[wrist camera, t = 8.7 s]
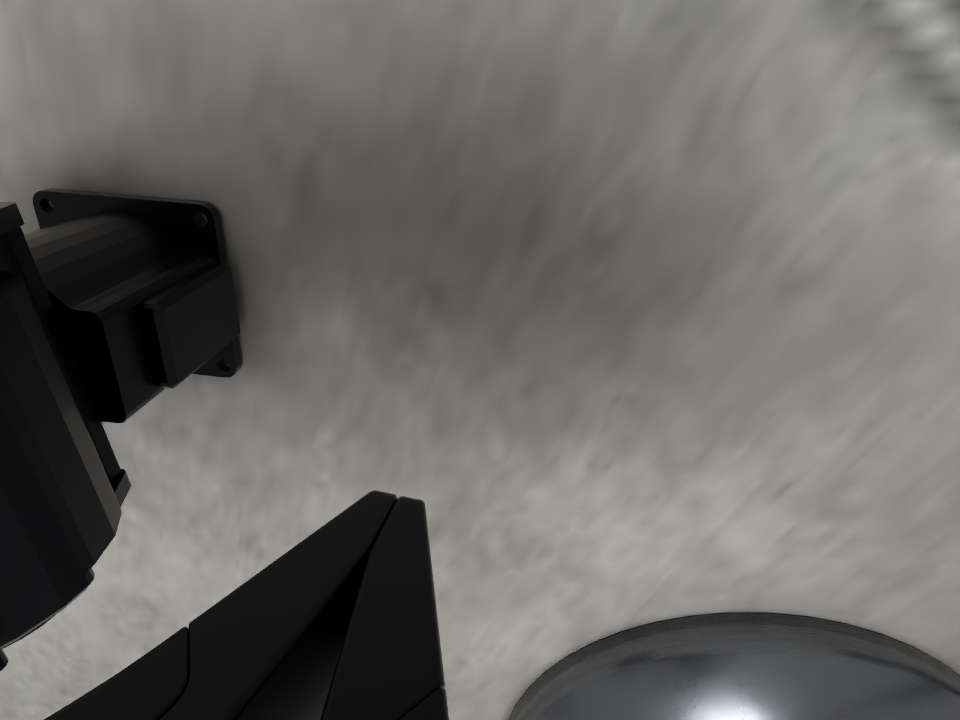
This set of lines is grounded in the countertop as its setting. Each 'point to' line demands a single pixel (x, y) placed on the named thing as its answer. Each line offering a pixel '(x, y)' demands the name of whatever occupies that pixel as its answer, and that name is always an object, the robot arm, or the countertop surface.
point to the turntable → (744, 674)
